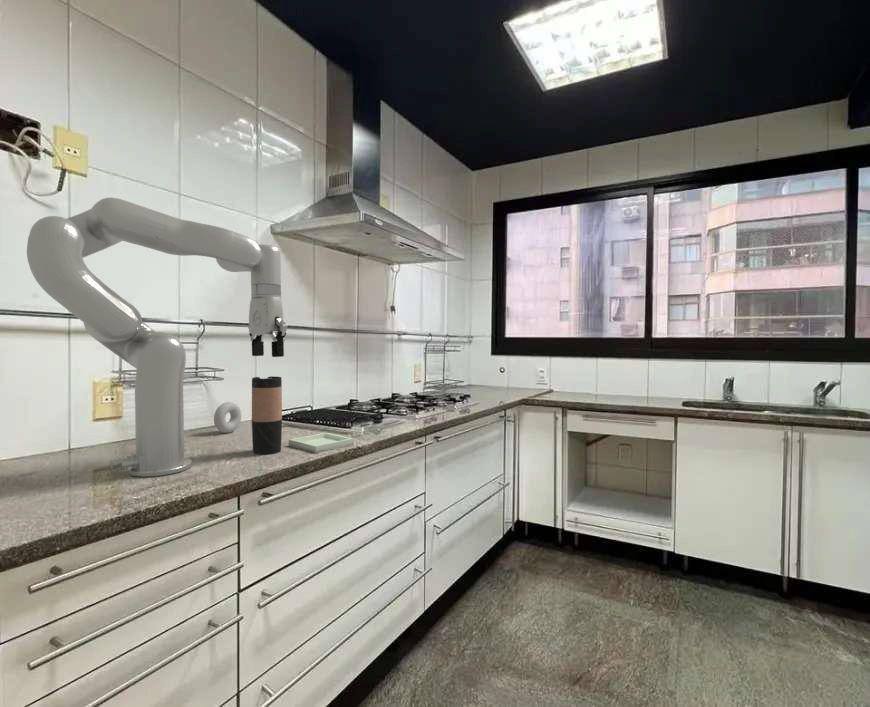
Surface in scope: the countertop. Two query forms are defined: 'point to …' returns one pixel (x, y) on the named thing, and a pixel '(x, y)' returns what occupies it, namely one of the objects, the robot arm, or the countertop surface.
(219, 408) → the donut
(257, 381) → the travel mug
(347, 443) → the tray
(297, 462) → the countertop surface
